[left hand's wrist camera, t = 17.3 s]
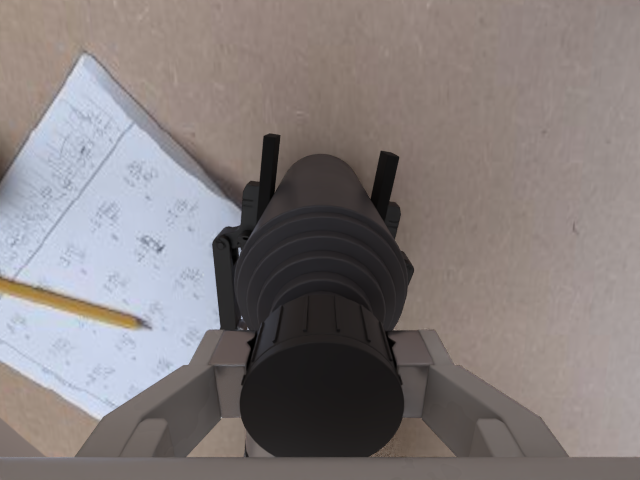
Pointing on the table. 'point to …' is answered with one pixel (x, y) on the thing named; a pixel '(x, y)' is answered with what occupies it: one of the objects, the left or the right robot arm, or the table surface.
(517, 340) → the table surface
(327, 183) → the bottle
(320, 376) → the cap
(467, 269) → the table surface
